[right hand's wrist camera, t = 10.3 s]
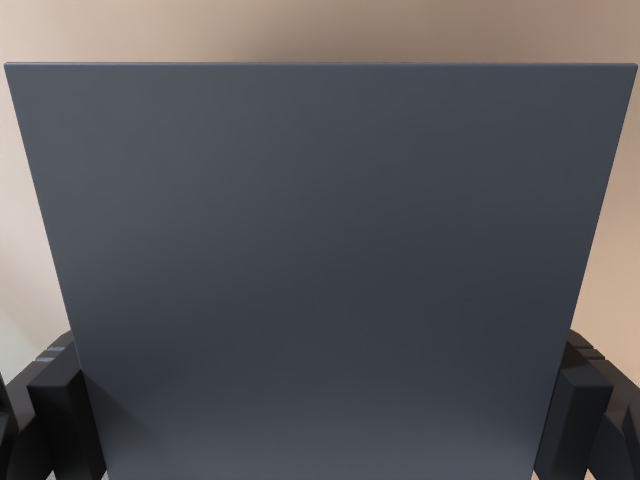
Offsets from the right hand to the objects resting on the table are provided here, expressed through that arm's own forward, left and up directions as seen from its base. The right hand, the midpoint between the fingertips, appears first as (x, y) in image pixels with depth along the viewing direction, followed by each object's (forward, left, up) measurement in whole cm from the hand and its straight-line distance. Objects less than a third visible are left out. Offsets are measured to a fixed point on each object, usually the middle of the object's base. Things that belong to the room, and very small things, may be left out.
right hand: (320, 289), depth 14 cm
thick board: (-3, +28, -1) cm, 28 cm away
